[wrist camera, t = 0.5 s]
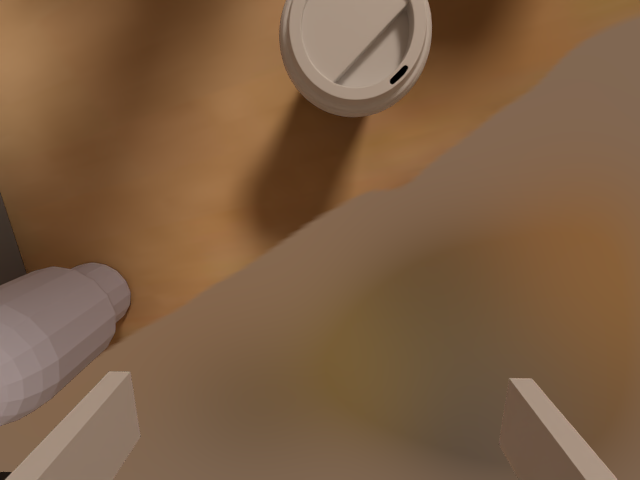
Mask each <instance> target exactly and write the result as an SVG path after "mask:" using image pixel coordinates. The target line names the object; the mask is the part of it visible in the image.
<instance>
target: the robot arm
mask: <svg viewBox="0 0 640 480" xmlns="http://www.w3.org/2000/svg"><path fill="white" fill-rule="evenodd" d="M139 438H140V430H139V424H138V418H137V412H136V405H135V398H134V392H133V385H132V379H131V373H130V372H113V371H110V372H108V373H107V374H106V375H105V376H104V377H103V378H102V379H101V380H100V381H99V382H98V384H96V386H94V388H93V389H92V390H91V391H90V392H89V393H88V394H87V395H86V396H85V397H84V398H83V399H82V400H81V401H80V402H79V403H78V404H77V405H76V406H75V407H74V408H73V409H72V410H71V411H70V413H69V414H68V415H67V416H66V417H65V418H64V419H63V420H62V421H61V422H60V423H59V424H58V425H57V426H56V427H55V428H54V429H53V430H52V431H51V432H50V433H49V434H48V435H47V437H46V438H45V439H44V440H43V441H42V442H41V443H40V444H39V445H38V446H37V447H36V448H35V449H34V450H33V451H32V452H31V453H30V454H29V455H28V456H27V457H26V458H25V459H24V461H23V462H22V463H21V464H20V465H19V466H18V467H17V468H16V469H15V470H14V471H13V472H0V480H113V479H114V477H115V475H116V474H117V472H118V471H119V469H120V468H121V466H122V465H123V463H124V461H125V460H126V458H127V457H128V455H129V454H130V452H131V451H132V449H133V447H134V446H135V444H136V443H137V441H138V440H139ZM499 445H500V447H501V449H502V451H503V453H504V455H505V456H506V458H507V460H508V462H509V463H510V465H511V467H512V469H513V471H514V472H515V474H516V476H517V478H518V480H618V479H617V478H616V477H615V476H614V475H613V474H612V472H611V471H610V470H609V469H608V468H607V466H606V465H605V464H604V463H603V462H602V461H601V459H600V458H599V457H598V456H597V455H596V454H595V452H594V451H593V450H592V449H591V448H590V446H589V445H588V444H587V443H586V442H585V441H584V439H583V438H582V437H581V436H580V435H579V433H578V432H577V431H576V430H575V429H574V428H573V426H572V425H571V424H570V423H569V422H568V421H567V419H566V418H565V417H564V416H563V415H562V413H561V412H560V411H559V410H558V409H557V408H556V406H555V405H554V404H553V403H552V402H551V401H550V399H549V398H548V397H547V396H546V395H545V393H544V392H543V391H542V390H541V389H540V388H539V386H538V385H537V384H536V383H535V382H534V381H533V379H528V378H527V379H525V378H509V383H508V389H507V395H506V402H505V408H504V414H503V420H502V427H501V433H500V440H499Z"/></svg>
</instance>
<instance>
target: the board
mask: <svg viewBox="0 0 640 480" xmlns="http://www.w3.org/2000/svg"><path fill="white" fill-rule="evenodd" d="M23 275H26V271H25V267H24V264H23V261H22V258H21V255H20V252H19V249H18V246H17V243H16V240H15V237H14V234H13V230H12V227H11V224H10V221H9V218H8V215H7V212H6V209H5V206H4V203H3V200H2V197H1V193H0V285H2V284H5V283H7V282H9V281H12V280H14V279H16V278H19V277H21V276H23Z"/></svg>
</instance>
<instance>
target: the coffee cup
mask: <svg viewBox="0 0 640 480" xmlns="http://www.w3.org/2000/svg"><path fill="white" fill-rule="evenodd" d="M431 38H432V19H431V12H430V7H429V3H428V0H286V2H285V5H284V8H283V11H282V15H281V21H280V29H279V41H280V50H281V55H282V59H283V63H284V66H285V69H286V71H287V73H288V75H289V77H290V79H291V81H292V82H293V84H294V85H295V87H296V88H297V90H298V91H299V92H300V93H301V94H302V95H303V96H304V97H305V98H306V99H307V100H308V101H309V102H311V103H312V104H313V105H315V106H316V107H318V108H320V109H322V110H324V111H326V112H328V113H331V114H334V115H338V116H343V117H363V116H368V115H372V114H375V113H378V112H381V111H383V110H385V109H387V108H389V107H391V106H392V105H394V104H395V103H396V102H398V101H399V100H400V99H401V98H403V97H404V96H405V95H406V94H407V93H408V92H409V90H410V89H411V88H412V87H413V86H414V84H415V83H416V81H417V80H418V78H419V76H420V75H421V73H422V71H423V69H424V66H425V64H426V61H427V58H428V55H429V51H430V46H431Z"/></svg>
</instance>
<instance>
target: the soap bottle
mask: <svg viewBox="0 0 640 480" xmlns="http://www.w3.org/2000/svg"><path fill="white" fill-rule="evenodd" d="M130 297H131V292H130V290H129V287H128V285H127V282H126V280H125V279H124V278H123V277H122V276H121V275H120V274H119V272H118V271H116V270H114V269H113V268H111V267H109V266H107V265H105V264H99V263H93V262H92V263H86V264H82V265H78V266H76V267H74V268H72V269H68V268H62V267H55V266H53V267H48V268H44V269H40V270H35V271H32V272H30V273H28V274H26V275H23V276H21V277H19V278H16V279H14V280H12V281H9V282H7V283H5V284H2V285H0V426H2V425H5V424H8V423H10V422H14V421H16V420H19V419H21V418H22V417H24V416H26V415H28V414H30V413H31V412H33V411H35V410H36V409H38V408H39V407H40V406H42V405H43V404H44V403H46V402H47V401H49V400H50V399H51V398H53V397H54V396H55V395H56V394H57V393H58V392H59V391H60V390H61V389H62V388H63V387H65V386H66V385H67V384H68V383H69V382H70V381H71V380H72V379H73V378H74V377H75V376H76V375H78V374H79V373H80V372H81V371H82V370H83V369H84V368H85V367H86V366H87V365H89V364H90V363H91V362H92V361H93V360H94V359H95V358H96V357H97V356H98V355H99V354H101V353H102V352H103V351H104V350H105V349H106V348H107V347H108V345H109V343H110V341H111V339H112V337H113V335H114V334H115V330H116V322H117V321H119V320H120V319H121V318H122V317H123V316H124V315H125V313H126V311H127V309H128V308H129V306H130Z"/></svg>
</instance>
